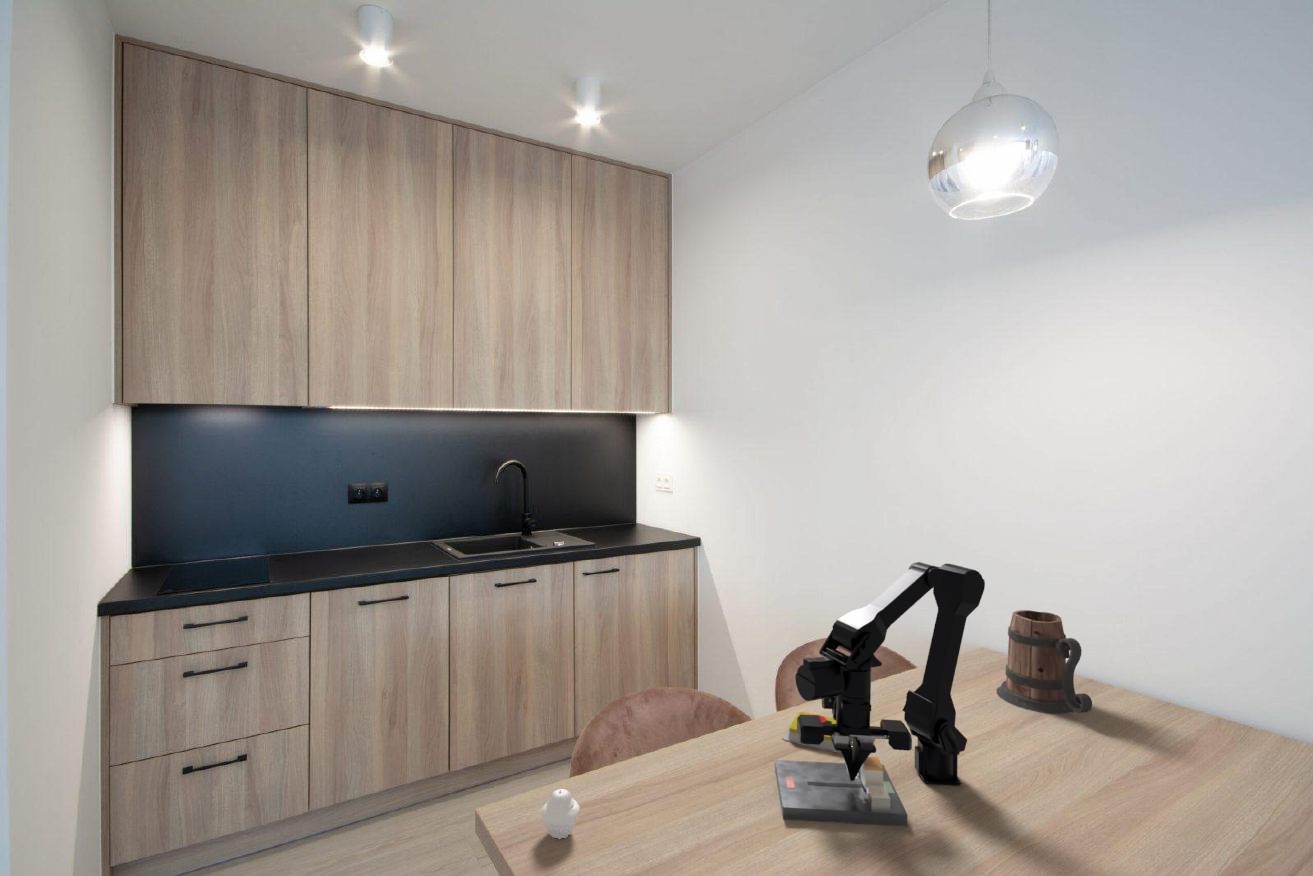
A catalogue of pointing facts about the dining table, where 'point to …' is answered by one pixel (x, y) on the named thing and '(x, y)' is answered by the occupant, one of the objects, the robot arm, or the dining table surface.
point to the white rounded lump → (560, 814)
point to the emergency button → (827, 744)
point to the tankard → (1042, 665)
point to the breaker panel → (835, 795)
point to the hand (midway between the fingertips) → (851, 779)
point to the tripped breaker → (872, 772)
